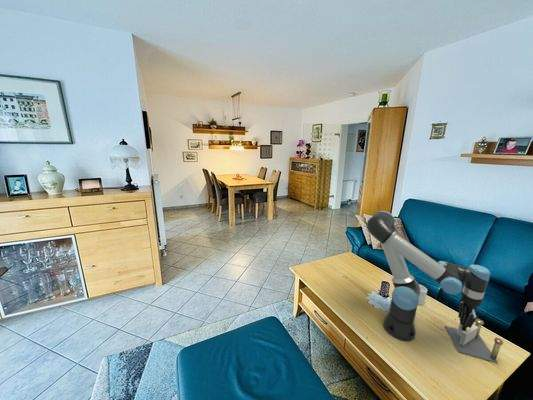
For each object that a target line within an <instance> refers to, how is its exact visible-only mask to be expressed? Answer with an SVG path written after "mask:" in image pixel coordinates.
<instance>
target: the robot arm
mask: <svg viewBox="0 0 533 400" xmlns="http://www.w3.org/2000/svg"><path fill="white" fill-rule="evenodd" d="M395 222H396V221H395V217H394V216H393V214H392V213H390V212H388V211H385V210H381V211H378V212H375V213H373V214H372V216H371V217H369V218H368V220H367V222H366V229H367V231H368V233H369V234H370V235H371V236H372V237H373V238H374V239H376V241H378V242H379V243H380V244H381V247H382V249H383V250H382V251H383V252H384V256H385V258H386V260H387V263H388V266H389V268H390V271H391V274H392V276H393V277H392V278H391V282H392V284H393V287H394V289H393V290H392V293H391V298H390V299H391V300H390V305H389V310H388V313H387V314H386V315H385V317H384V319H383V328H384V330H385V331H386V332H387V333H388V334H389V335H390V336H392V337H393V338H396V339H398V340H400V341H404V342H410V341H413V340H414V339H415V337H416V333H417V332H416V327H415V323H414V322H415V319H416V314H417V309H418V306H419V305H418V303H419V296H420V286H419V282H418V281H417V280H416V279H415V277H414V276H413V275H412V274H410V272H409V269H408V266H407V263H406V260H407V261H408V262H410V263H411V264H412V265H414V266H415V267H417V268H418V269H419V270H420V271H422V272H423V273H424V274H425V275H428V276H429V277H430V278H431V279H433V280H434V281H435V282H437V283H438V284H439V285H440V287H441V289H442V290H443V292H445V293H447V294H449V295H453V296H454V295H459V294H460V293H461V295H460V299H459V308H458V309H459V310H458V315H457V317H458V319H459V325H458V328H457V329H458V331H457V333H458V334H461V335H462V331H466V330H468V329H469V328H471V327H473V326H474V324H475V323H476V321H475V320H476V319H479V316H478V315H476V312H477V308H480V307H481V306H482V303H483V299H484V295H485V294H486V290H487V287H488V284H489V281H490V276H491V271H490V270H489V269H488V268H486V267H485V266H482V265H481V264H480V265H479V264H470V265H469V266H468V267H467V266H462V265H459V264H456V263H455V264H454V263H452V262H448V261H444V260H439V261H436V260H435V259H433V258H431V257H430V256H429V255H428V254H426V253H424V251H422V250H420V249H419V248H417V247H416V246H414V245H413V244H412V243H411V242H409V241H408V240H406V239H405V238H403V237H401V236H400V235H399V234H397V233H398V231H397V228H396V225H395ZM463 283H464V284H463Z"/></svg>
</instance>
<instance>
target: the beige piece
mask: <svg viewBox="0 0 533 400" xmlns="http://www.w3.org/2000/svg"><path fill="white" fill-rule="evenodd" d="M477 330H478V327H477V326H476V325H475V324H473V325H472V327H471V328H469V327H468V328H467V329H466V331H462V335H461V338H460V342H459V343H460V344H461V345H463V346H464V345H465V344H466V343H468V342H469V341H471V340H472V339H474V338H475V337H476V334H477Z"/></svg>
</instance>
